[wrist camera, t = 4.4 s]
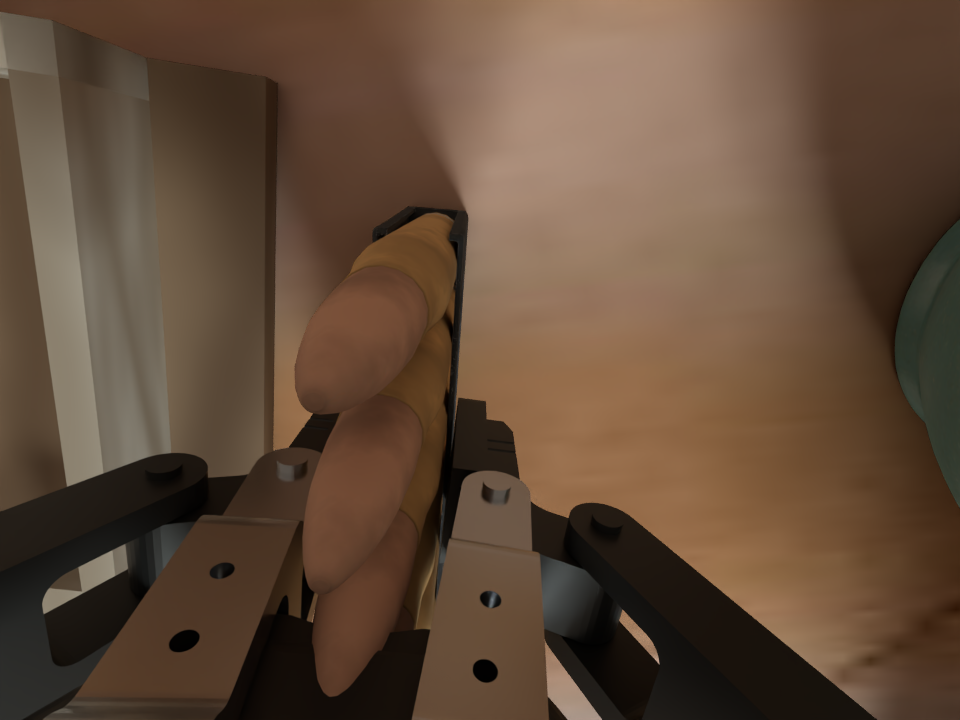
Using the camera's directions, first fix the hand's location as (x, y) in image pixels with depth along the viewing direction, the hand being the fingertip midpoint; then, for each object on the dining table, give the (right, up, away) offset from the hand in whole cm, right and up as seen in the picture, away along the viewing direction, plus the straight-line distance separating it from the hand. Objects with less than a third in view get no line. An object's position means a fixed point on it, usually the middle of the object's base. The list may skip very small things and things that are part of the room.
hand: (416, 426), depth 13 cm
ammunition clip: (0, +1, +4) cm, 4 cm away
